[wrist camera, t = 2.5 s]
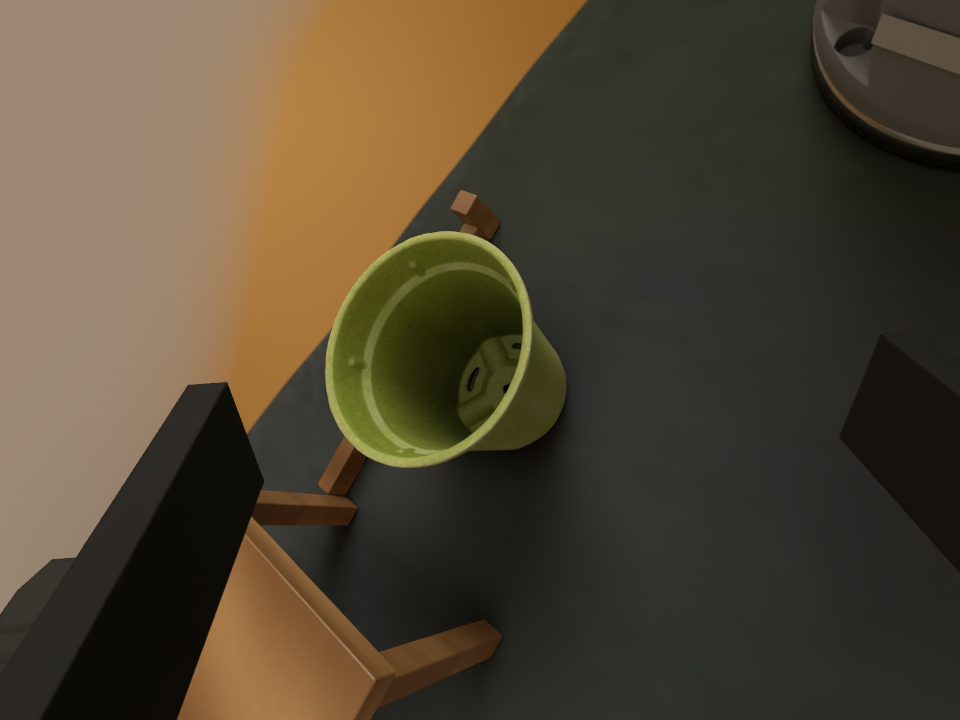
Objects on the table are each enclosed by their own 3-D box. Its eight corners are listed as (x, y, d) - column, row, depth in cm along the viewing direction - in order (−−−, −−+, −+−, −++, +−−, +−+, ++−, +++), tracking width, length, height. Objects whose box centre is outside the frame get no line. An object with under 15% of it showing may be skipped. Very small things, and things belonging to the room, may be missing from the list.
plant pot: (411, 454, 30) (294, 431, 23) (462, 294, 32) (366, 223, 24) (569, 509, 26) (485, 502, 18) (621, 318, 27) (562, 239, 20)
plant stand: (485, 216, 32) (363, 85, 23) (697, 295, 26) (649, 156, 16) (236, 659, 32) (9, 714, 23) (381, 857, 25) (145, 1055, 16)
